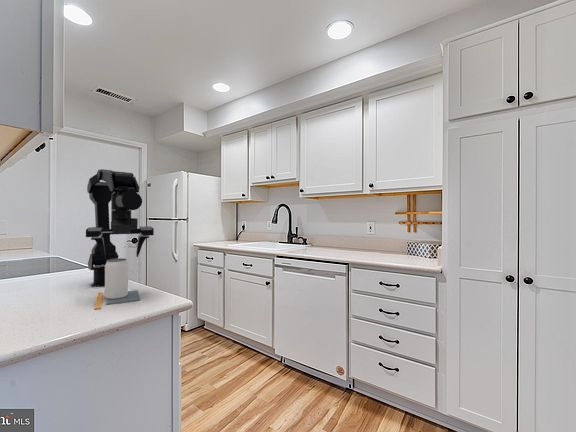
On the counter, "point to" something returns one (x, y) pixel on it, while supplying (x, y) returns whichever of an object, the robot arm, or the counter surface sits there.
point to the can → (116, 278)
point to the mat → (125, 298)
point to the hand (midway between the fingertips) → (121, 257)
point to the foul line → (98, 301)
